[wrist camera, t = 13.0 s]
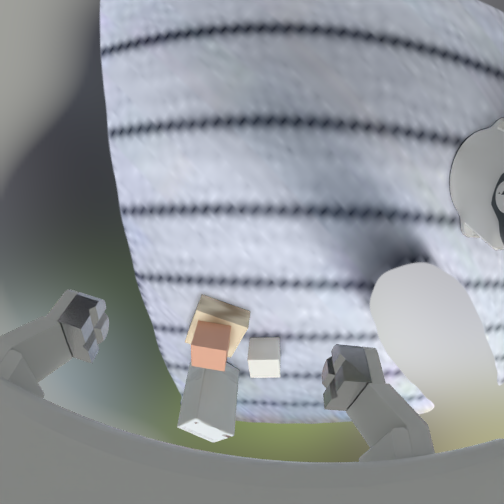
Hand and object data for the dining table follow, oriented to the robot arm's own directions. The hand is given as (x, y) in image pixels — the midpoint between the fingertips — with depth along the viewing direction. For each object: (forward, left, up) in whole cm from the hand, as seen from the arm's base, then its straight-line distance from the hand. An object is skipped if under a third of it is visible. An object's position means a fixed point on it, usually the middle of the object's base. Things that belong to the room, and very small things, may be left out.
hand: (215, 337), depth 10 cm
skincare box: (+1, +41, -29) cm, 50 cm away
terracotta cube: (+2, +28, -26) cm, 38 cm away
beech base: (+2, +28, -30) cm, 41 cm away
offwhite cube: (-7, +33, -29) cm, 45 cm away
